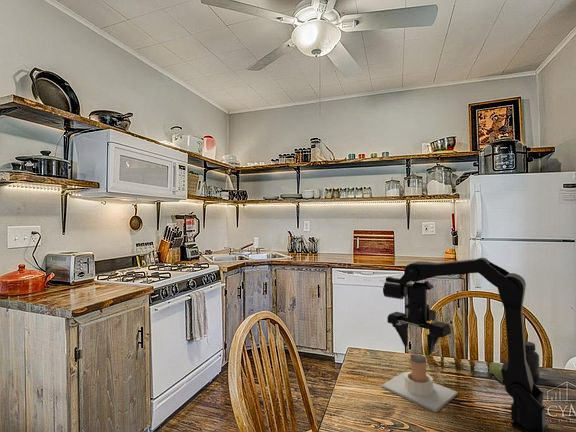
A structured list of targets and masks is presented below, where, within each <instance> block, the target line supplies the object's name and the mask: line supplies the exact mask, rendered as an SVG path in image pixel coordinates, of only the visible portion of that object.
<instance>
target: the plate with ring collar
mask: <svg viewBox="0 0 576 432" xmlns="http://www.w3.org/2000/svg"><path fill="white" fill-rule="evenodd" d="M381 388H382V389H384V390H385V391H388V392H390V393H393V394H395V395H398V396H400V397H401V398H404V399H406V400H408V401H411V402H412V403H414V404H417V405H418V406H421V407H423V408H426V409H428V410H430V411H432V412H434V413H437V412H438V411H440V410H441V409H442V408H443V407H445V406H446V405H447V404H448V403H449V402H450V401H452V400H453V399H454V398H455V397H457V396H458V391H456V390H453V389H451V388H449V387H446V386H443V385H441V384H438V383H436V382H434V378H433V377H432V376H431V375H430V374H429V373H426V382H424V383H420V382H415V381H412V380H411V370H410V371H403V372H402V373H400V374H398V375H396V376H395V377H393V378H391V379H390V380H387V381H386V382H384V383H383V384H381Z"/></svg>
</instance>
